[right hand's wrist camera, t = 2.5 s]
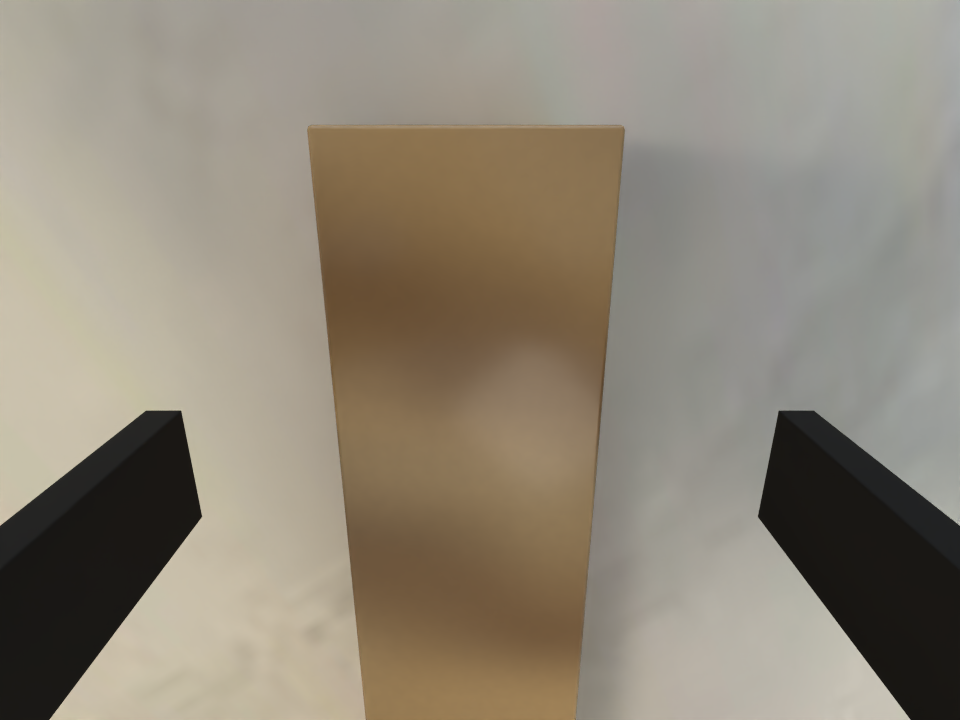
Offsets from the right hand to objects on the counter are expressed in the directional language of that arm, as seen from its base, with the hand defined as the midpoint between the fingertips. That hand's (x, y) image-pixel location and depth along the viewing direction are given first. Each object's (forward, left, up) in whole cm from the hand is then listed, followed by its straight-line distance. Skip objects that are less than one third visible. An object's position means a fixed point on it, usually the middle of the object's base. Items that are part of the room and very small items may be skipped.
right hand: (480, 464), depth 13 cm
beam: (+8, -24, -8) cm, 27 cm away
